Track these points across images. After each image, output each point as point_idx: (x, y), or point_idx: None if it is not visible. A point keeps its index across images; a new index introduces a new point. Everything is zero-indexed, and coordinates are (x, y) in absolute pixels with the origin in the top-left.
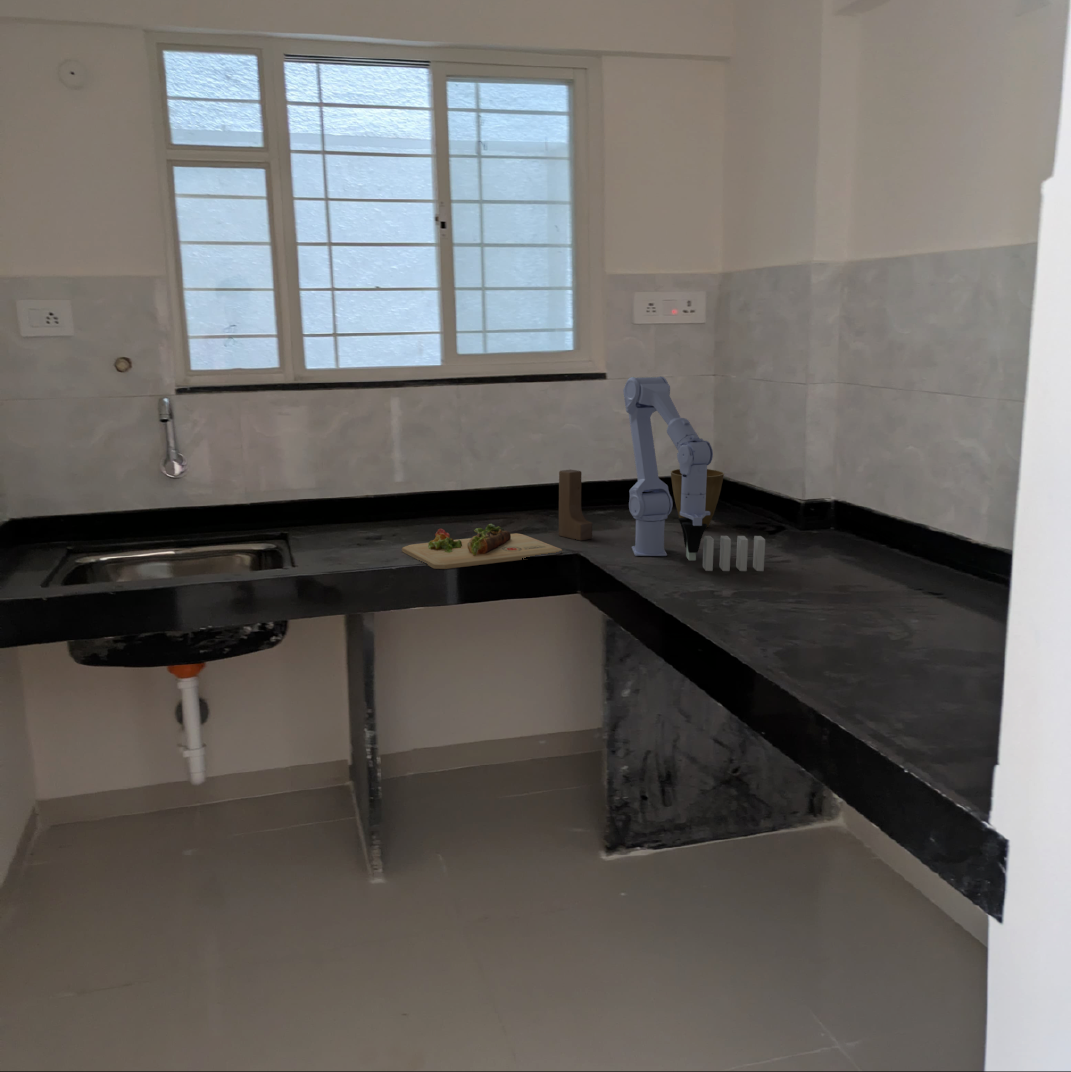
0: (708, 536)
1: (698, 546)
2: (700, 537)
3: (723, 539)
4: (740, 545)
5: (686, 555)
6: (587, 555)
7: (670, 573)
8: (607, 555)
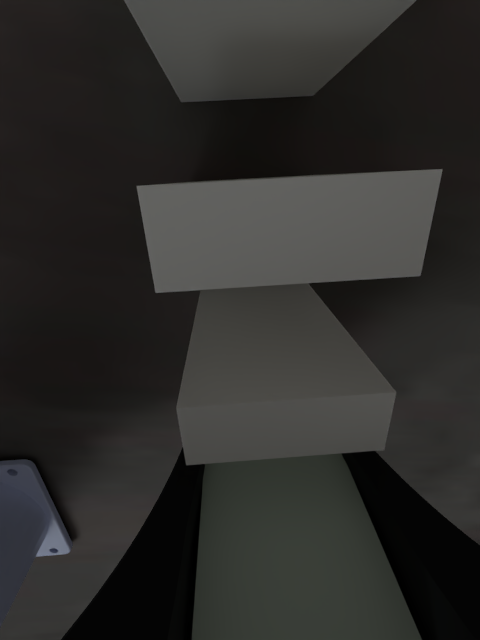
0: (220, 429)
1: (377, 458)
2: (454, 532)
3: (365, 276)
4: (385, 2)
5: None
6: None
7: None
8: (82, 598)
